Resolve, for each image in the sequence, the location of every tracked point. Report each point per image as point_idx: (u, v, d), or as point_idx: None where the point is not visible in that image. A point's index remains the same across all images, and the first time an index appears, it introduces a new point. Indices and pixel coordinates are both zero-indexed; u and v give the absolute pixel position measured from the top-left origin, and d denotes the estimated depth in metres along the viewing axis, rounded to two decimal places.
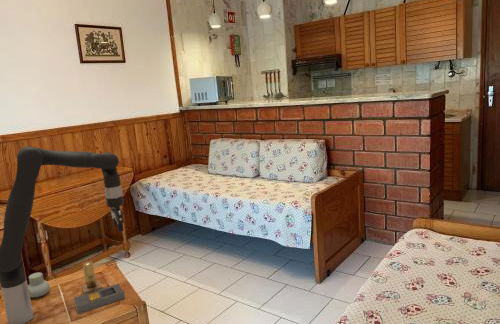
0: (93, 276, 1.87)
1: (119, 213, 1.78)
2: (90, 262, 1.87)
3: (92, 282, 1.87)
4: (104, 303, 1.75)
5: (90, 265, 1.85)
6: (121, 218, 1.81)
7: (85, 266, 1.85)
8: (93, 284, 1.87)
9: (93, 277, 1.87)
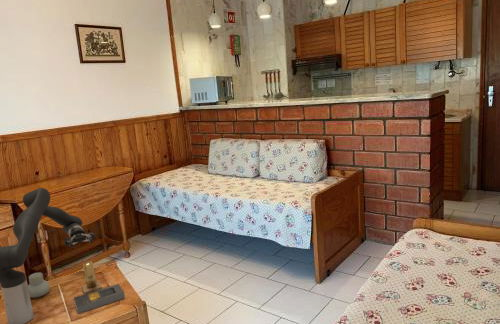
0: (93, 276, 1.87)
1: None
2: (90, 262, 1.87)
3: (92, 282, 1.87)
4: (104, 303, 1.75)
5: (90, 265, 1.85)
6: (89, 239, 2.04)
7: (85, 266, 1.85)
8: (93, 284, 1.87)
9: (93, 277, 1.87)
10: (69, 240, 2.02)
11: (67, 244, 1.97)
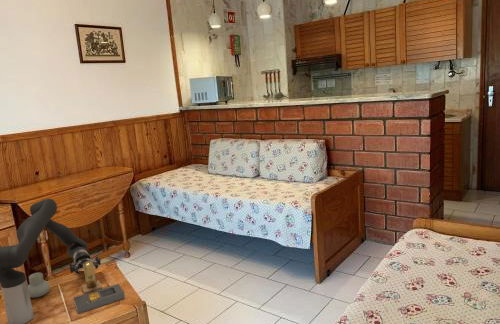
0: (93, 276, 1.87)
1: None
2: (90, 262, 1.87)
3: (92, 282, 1.87)
4: (104, 303, 1.75)
5: (90, 265, 1.85)
6: (94, 264, 2.00)
7: (85, 266, 1.85)
8: (93, 284, 1.87)
9: (93, 277, 1.87)
10: (74, 266, 1.98)
11: (72, 270, 1.93)
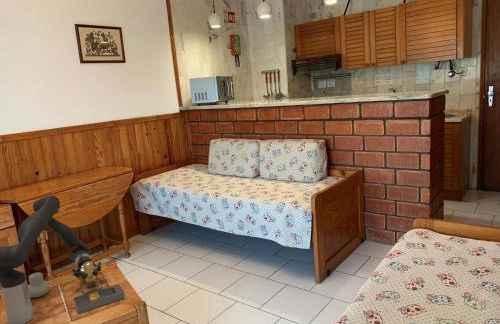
0: (93, 276, 1.87)
1: None
2: (90, 262, 1.87)
3: (92, 282, 1.87)
4: (104, 303, 1.75)
5: (90, 265, 1.85)
6: None
7: (85, 266, 1.85)
8: (93, 284, 1.87)
9: (93, 277, 1.87)
10: (77, 271, 1.91)
11: (79, 275, 1.87)
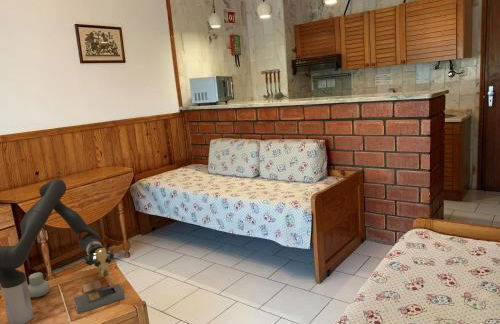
0: (106, 264, 1.78)
1: (113, 252, 1.86)
2: (103, 249, 1.77)
3: (105, 270, 1.77)
4: (104, 303, 1.75)
5: (103, 252, 1.76)
6: None
7: (98, 253, 1.75)
8: (106, 272, 1.78)
9: (106, 265, 1.78)
10: (89, 259, 1.82)
11: (91, 263, 1.77)
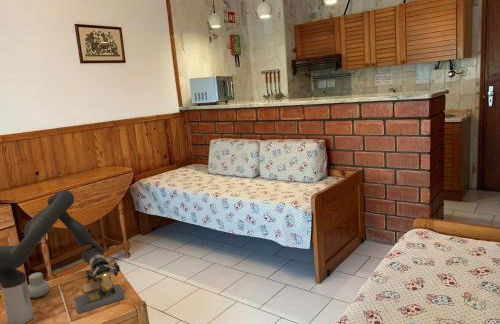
0: (110, 287, 1.79)
1: None
2: (107, 273, 1.79)
3: (109, 294, 1.79)
4: (104, 303, 1.75)
5: (107, 276, 1.77)
6: (113, 271, 1.84)
7: (102, 277, 1.77)
8: None
9: (110, 288, 1.79)
10: (92, 273, 1.83)
11: (90, 278, 1.78)
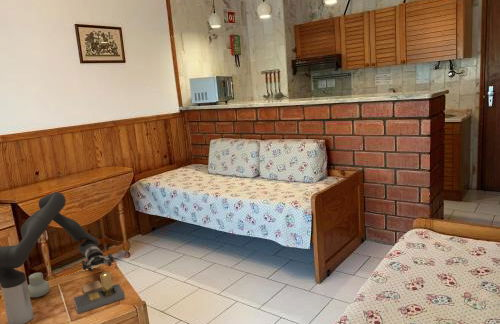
0: (110, 287, 1.79)
1: None
2: (107, 273, 1.79)
3: (109, 294, 1.79)
4: (104, 303, 1.75)
5: (107, 276, 1.77)
6: (107, 261, 1.95)
7: (102, 277, 1.77)
8: None
9: (110, 288, 1.79)
10: (87, 263, 1.93)
11: (85, 267, 1.89)
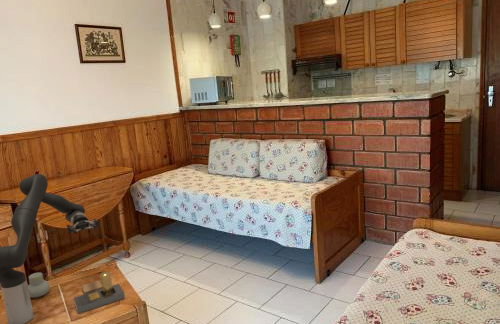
0: (110, 287, 1.79)
1: None
2: (107, 273, 1.79)
3: (109, 294, 1.79)
4: (104, 303, 1.75)
5: (107, 276, 1.77)
6: None
7: (102, 277, 1.77)
8: None
9: (110, 288, 1.79)
10: (72, 227, 1.96)
11: (70, 231, 1.91)
